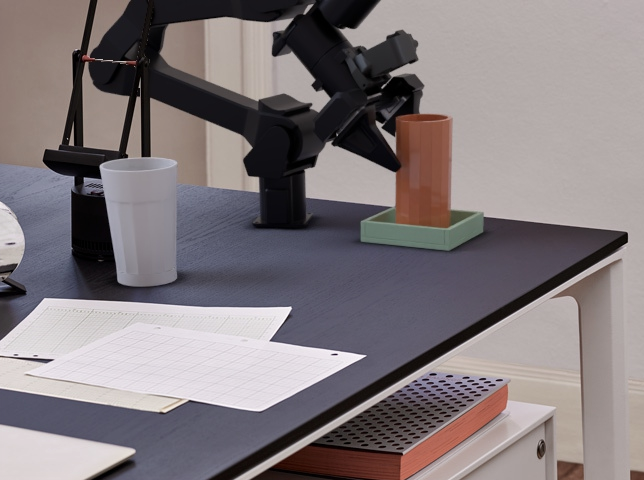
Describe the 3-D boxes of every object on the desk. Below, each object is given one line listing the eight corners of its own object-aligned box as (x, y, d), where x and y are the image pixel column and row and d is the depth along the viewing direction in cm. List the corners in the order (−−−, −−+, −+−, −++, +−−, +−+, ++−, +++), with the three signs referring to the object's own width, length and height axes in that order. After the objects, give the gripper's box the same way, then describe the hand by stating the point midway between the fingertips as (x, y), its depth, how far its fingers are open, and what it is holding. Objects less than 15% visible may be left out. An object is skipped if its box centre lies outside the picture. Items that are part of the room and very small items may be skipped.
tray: (360, 241, 158) (360, 221, 157) (398, 224, 166) (398, 204, 165) (449, 251, 153) (449, 229, 152) (483, 232, 161) (484, 211, 160)
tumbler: (386, 229, 160) (386, 116, 155) (434, 223, 163) (435, 111, 157) (410, 240, 155) (411, 123, 150) (459, 234, 157) (462, 119, 152)
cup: (148, 265, 149) (139, 154, 144) (200, 276, 145) (193, 162, 140) (94, 281, 144) (83, 166, 139) (146, 292, 139) (137, 174, 134)
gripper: (335, 13, 144) (428, 127, 144) (410, 1, 159) (494, 103, 158) (274, 87, 151) (362, 195, 150) (350, 68, 165) (431, 166, 165)
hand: (415, 162), depth 156 cm, fingers open, 9 cm apart
